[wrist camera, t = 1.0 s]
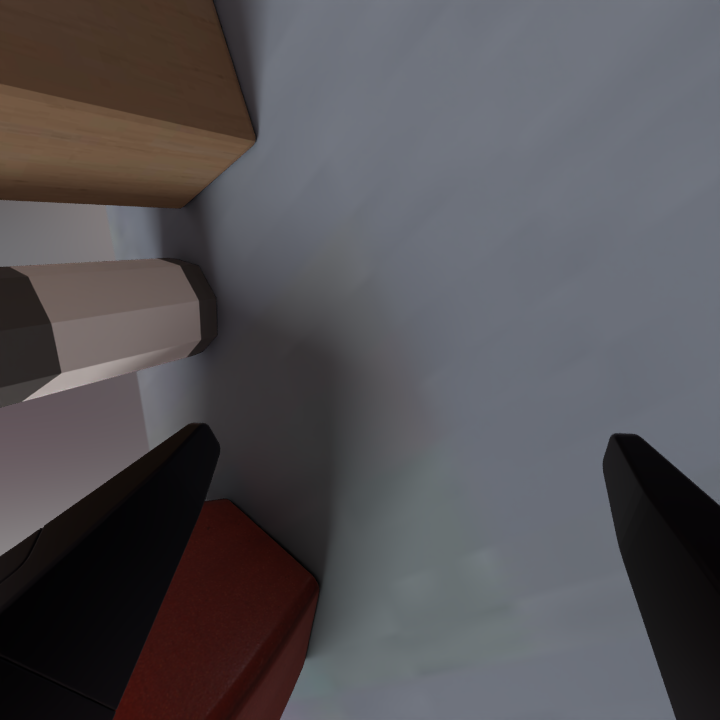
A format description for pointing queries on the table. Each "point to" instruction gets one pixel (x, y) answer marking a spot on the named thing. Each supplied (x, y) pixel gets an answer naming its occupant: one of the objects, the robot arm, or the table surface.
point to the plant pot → (225, 628)
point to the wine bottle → (98, 322)
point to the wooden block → (116, 102)
